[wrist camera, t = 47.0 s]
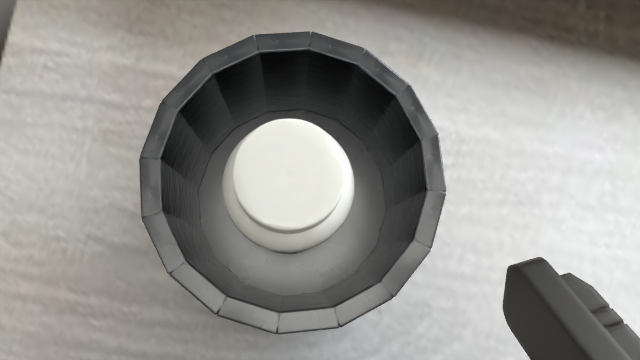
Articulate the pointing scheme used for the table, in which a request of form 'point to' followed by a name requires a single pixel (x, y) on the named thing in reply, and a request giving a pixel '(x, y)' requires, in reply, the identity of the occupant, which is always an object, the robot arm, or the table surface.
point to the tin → (339, 122)
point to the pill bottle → (288, 186)
